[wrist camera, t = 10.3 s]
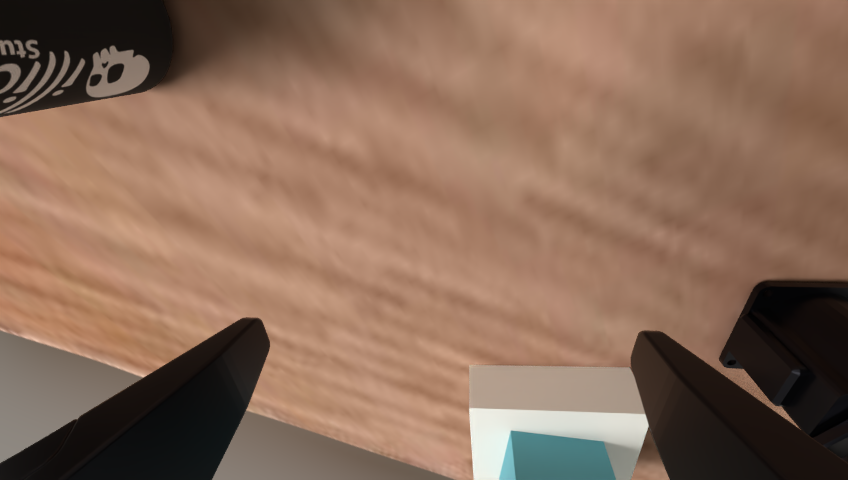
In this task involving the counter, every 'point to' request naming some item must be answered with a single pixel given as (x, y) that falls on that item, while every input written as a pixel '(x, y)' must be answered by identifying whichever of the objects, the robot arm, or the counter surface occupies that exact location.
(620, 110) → the counter surface
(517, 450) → the teal cube
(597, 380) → the off-white block
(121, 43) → the beverage can
